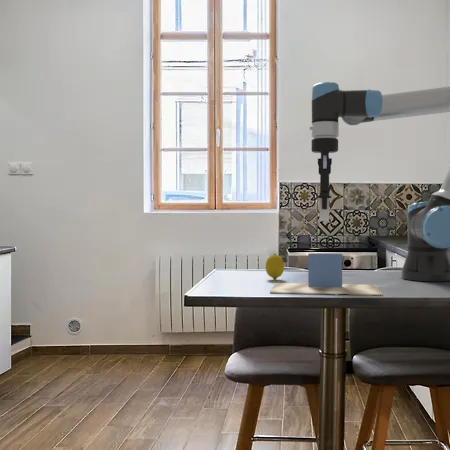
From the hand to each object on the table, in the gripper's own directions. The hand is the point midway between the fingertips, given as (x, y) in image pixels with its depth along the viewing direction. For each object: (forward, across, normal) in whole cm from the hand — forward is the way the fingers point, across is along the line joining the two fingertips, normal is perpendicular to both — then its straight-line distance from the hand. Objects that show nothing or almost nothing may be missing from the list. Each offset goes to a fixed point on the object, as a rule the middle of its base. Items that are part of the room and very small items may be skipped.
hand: (324, 220), depth 168 cm
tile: (+18, +9, 0) cm, 20 cm away
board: (+18, +12, 0) cm, 22 cm away
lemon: (+18, -8, -15) cm, 25 cm away
